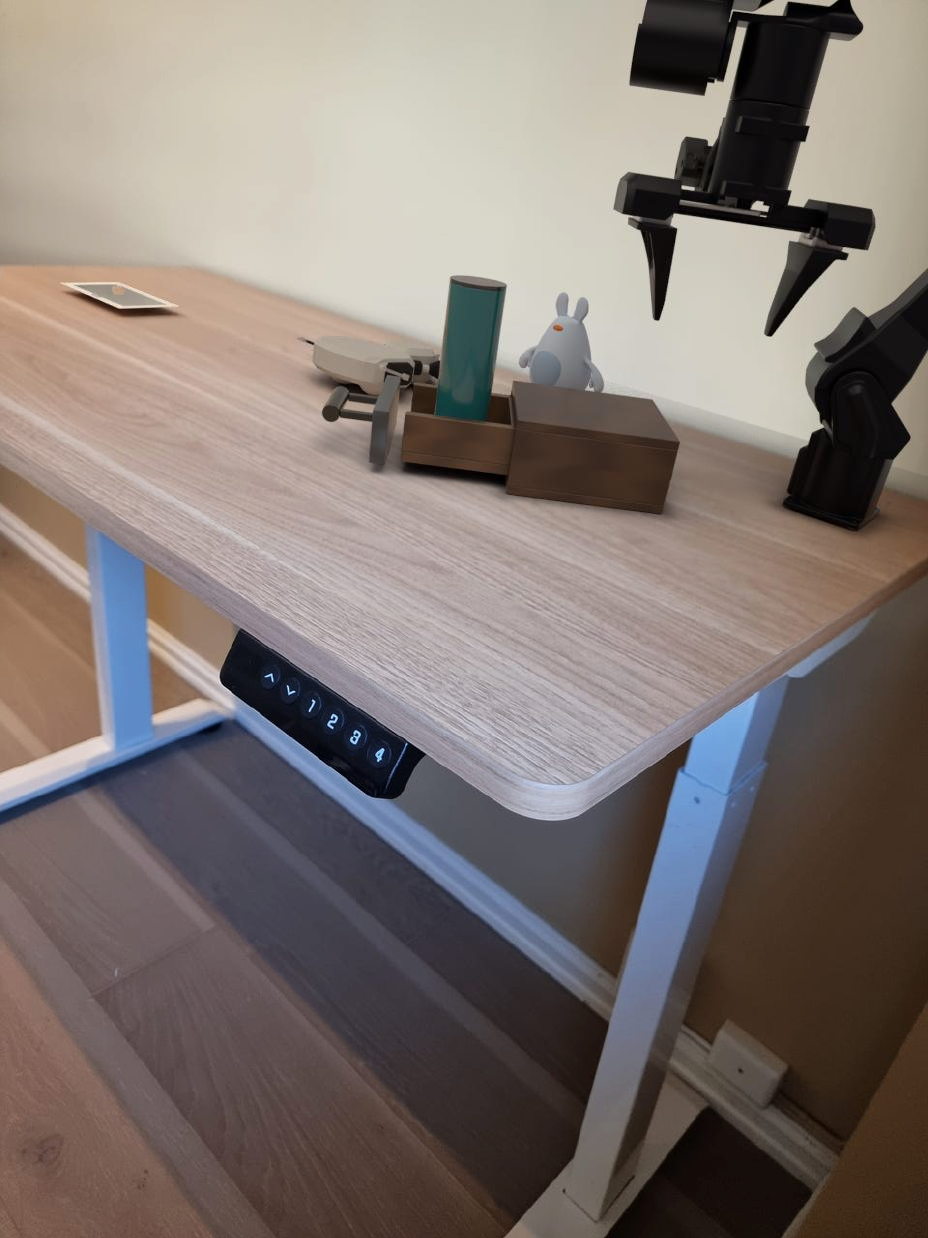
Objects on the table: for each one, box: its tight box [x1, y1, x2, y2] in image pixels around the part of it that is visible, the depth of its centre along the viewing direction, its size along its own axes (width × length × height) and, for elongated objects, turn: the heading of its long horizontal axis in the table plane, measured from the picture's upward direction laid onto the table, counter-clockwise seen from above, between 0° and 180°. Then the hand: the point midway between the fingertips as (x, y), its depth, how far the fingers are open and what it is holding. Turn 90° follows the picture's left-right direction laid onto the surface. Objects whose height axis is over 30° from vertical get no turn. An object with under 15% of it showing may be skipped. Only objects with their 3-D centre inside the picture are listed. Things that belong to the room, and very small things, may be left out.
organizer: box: [504, 380, 681, 515], centre depth 73 cm, size 12×12×6 cm
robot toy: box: [296, 335, 441, 397], centre depth 92 cm, size 12×4×15 cm
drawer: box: [321, 375, 516, 476], centre depth 73 cm, size 16×11×4 cm
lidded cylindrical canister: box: [434, 274, 508, 422], centre depth 70 cm, size 4×4×12 cm
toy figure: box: [518, 291, 605, 393], centre depth 88 cm, size 11×6×12 cm, turn 47°
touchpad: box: [60, 281, 180, 310], centre depth 111 cm, size 8×15×2 cm, turn 46°
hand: (711, 327), depth 71 cm, fingers open, 9 cm apart
